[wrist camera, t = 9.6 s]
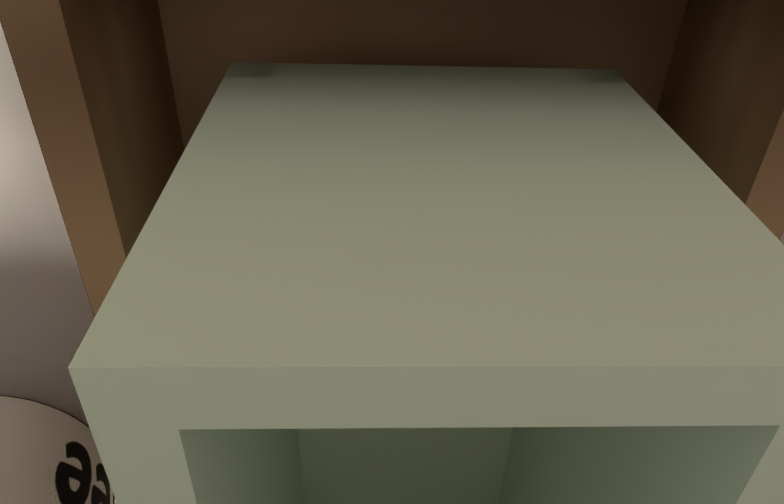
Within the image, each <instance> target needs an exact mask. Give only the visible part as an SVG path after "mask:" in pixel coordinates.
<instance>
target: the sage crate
mask: <svg viewBox="0 0 784 504" xmlns="http://www.w3.org/2000/svg"><path fill="white" fill-rule="evenodd" d="M68 370H69V373H70V375H71V378H72V381H73V384H74V386H75V389H76V392H77V395H78V397H79V400H80V403H81V406H82V408H83V411H84V414H85V417H86V419H87V422H88V425H89V428H90V430H91V433H92V436H93V439H94V441H95V444H96V447H97V450H98V452H99V455H100V458H101V461H102V463H103V466H104V469H105V472H106V474H107V477H108V480H109V482H110V485H111V488H112V491H113V493H114V496H115V499H116V502H117V504H784V244H783V243H782V242H781V241H780V240H779V239H778V238H777V237H776V236H775V235H774V234H773V233H772V232H771V231H770V230H769V229H768V228H767V227H766V226H765V225H764V224H763V223H762V222H761V221H760V220H759V219H758V217H757V216H756V215H755V214H754V213H753V212H752V211H751V210H750V209H749V208H748V207H747V206H746V205H745V204H744V203H743V202H742V201H741V200H740V199H739V198H738V197H737V196H736V195H735V194H734V193H733V192H732V191H731V190H730V189H729V187H728V186H727V185H726V184H725V183H724V182H723V181H722V180H721V179H720V178H719V177H718V176H717V175H716V174H715V173H714V172H713V171H712V170H711V169H710V168H709V167H708V166H707V165H706V164H705V163H704V162H703V161H702V160H701V159H700V157H699V156H698V155H697V154H696V153H695V152H694V151H693V150H692V149H691V148H690V147H689V146H688V145H687V144H686V143H685V142H684V141H683V140H682V139H681V138H680V137H679V136H678V135H677V134H676V133H675V132H674V131H673V130H672V129H671V127H670V126H669V125H668V124H667V123H666V122H665V121H664V120H663V119H662V118H661V117H660V116H659V115H658V114H657V113H656V112H655V111H654V110H653V109H652V108H651V107H650V106H649V105H648V104H647V103H646V102H645V101H644V100H643V99H642V97H641V96H640V95H639V94H638V93H637V92H636V91H635V90H634V89H633V88H632V87H631V86H630V85H629V84H628V83H627V82H626V81H625V80H624V79H623V78H622V77H621V76H620V75H619V74H618V73H617V72H616V71H615V70H614V69H568V68H515V67H462V66H409V65H356V64H303V63H250V62H232V63H231V65H230V67H229V68H228V70H227V72H226V74H225V76H224V78H223V80H222V82H221V83H220V85H219V87H218V89H217V91H216V93H215V95H214V96H213V98H212V100H211V102H210V104H209V106H208V108H207V109H206V111H205V113H204V115H203V117H202V119H201V121H200V122H199V124H198V126H197V128H196V130H195V132H194V134H193V135H192V137H191V139H190V141H189V143H188V145H187V147H186V148H185V150H184V152H183V154H182V156H181V158H180V160H179V162H178V163H177V165H176V167H175V169H174V171H173V173H172V175H171V176H170V178H169V180H168V182H167V184H166V186H165V188H164V189H163V191H162V193H161V195H160V197H159V199H158V201H157V202H156V204H155V206H154V208H153V210H152V212H151V214H150V215H149V217H148V219H147V221H146V223H145V225H144V227H143V228H142V230H141V232H140V234H139V236H138V238H137V240H136V241H135V243H134V245H133V247H132V249H131V251H130V253H129V255H128V256H127V258H126V260H125V262H124V264H123V266H122V268H121V269H120V271H119V273H118V275H117V277H116V279H115V281H114V282H113V284H112V286H111V288H110V290H109V292H108V294H107V295H106V297H105V299H104V301H103V303H102V305H101V307H100V308H99V310H98V312H97V314H96V316H95V318H94V320H93V321H92V323H91V325H90V327H89V329H88V331H87V333H86V335H85V336H84V338H83V340H82V342H81V344H80V346H79V348H78V349H77V351H76V353H75V355H74V357H73V359H72V361H71V362H70V364H69V366H68Z"/></svg>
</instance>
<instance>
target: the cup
mask: <svg viewBox="0 0 784 504" xmlns="http://www.w3.org/2000/svg"><path fill="white" fill-rule="evenodd" d="M0 504H115V496H114V493H113V491H112V488H111V485H110V482H109V480H108V477H107V474H106V472H105V469H104V466H103V463H102V461H101V458H100V455H99V452H98V450H97V447H96V444H95V441H94V439H93V436H92V433H91V430H90V428H88V427H87V426H86V425H84V424H83V423H81V422H80V421H78V420H77V419H75V418H73V417H71V416H70V415H68V414H66V413H64V412H61V411H59V410H57V409H54V408H52V407H49V406H46V405H44V404H40V403H37V402H33V401H29V400H25V399H20V398H14V397H5V396H0Z"/></svg>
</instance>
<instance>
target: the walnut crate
mask: <svg viewBox="0 0 784 504" xmlns="http://www.w3.org/2000/svg"><path fill="white" fill-rule="evenodd" d="M0 22H1V25H2V28H3V31H4V34H5V38H6V41H7V44H8V47H9V50H10V53H11V56H12V60H13V63H14V66H15V69H16V72H17V75H18V78H19V82H20V85H21V88H22V91H23V94H24V97H25V100H26V104H27V107H28V110H29V113H30V116H31V119H32V122H33V126H34V129H35V132H36V135H37V138H38V141H39V144H40V148H41V151H42V154H43V157H44V160H45V163H46V166H47V170H48V173H49V176H50V179H51V182H52V185H53V188H54V192H55V195H56V198H57V201H58V204H59V207H60V210H61V214H62V217H63V220H64V223H65V226H66V229H67V232H68V236H69V239H70V242H71V245H72V248H73V251H74V254H75V258H76V261H77V264H78V267H79V270H80V273H81V276H82V280H83V283H84V286H85V289H86V292H87V295H88V298H89V302H90V305H91V308H92V311H93V314H94V317H95V316H96V314H97V312H98V310H99V308H100V307H101V305H102V303H103V301H104V299H105V297H106V295H107V294H108V292H109V290H110V288H111V286H112V284H113V282H114V281H115V279H116V277H117V275H118V273H119V271H120V269H121V268H122V266H123V264H124V262H125V260H126V258H127V256H128V255H129V253H130V251H131V249H132V247H133V245H134V243H135V241H136V240H137V238H138V236H139V234H140V232H141V230H142V228H143V227H144V225H145V223H146V221H147V219H148V217H149V215H150V214H151V212H152V210H153V208H154V206H155V204H156V202H157V201H158V199H159V197H160V195H161V193H162V191H163V189H164V188H165V186H166V184H167V182H168V180H169V178H170V176H171V175H172V173H173V171H174V169H175V167H176V165H177V163H178V162H179V160H180V158H181V156H182V154H183V152H184V150H185V148H186V147H187V145H188V143H189V141H190V139H191V137H192V135H193V134H194V132H195V130H196V128H197V126H198V124H199V122H200V121H201V119H202V117H203V115H204V113H205V111H206V109H207V108H208V106H209V104H210V102H211V100H212V98H213V96H214V95H215V93H216V91H217V89H218V87H219V85H220V83H221V82H222V80H223V78H224V76H225V74H226V72H227V70H228V68H229V67H230V65H231V63H232V62H250V63H303V64H356V65H409V66H462V67H515V68H568V69H614V70H615V71H616V72H617V73H618V74H619V75H620V76H621V77H622V78H623V79H624V80H625V81H626V82H627V83H628V84H629V85H630V86H631V87H632V88H633V89H634V90H635V91H636V92H637V93H638V94H639V95H640V96H641V97H642V99H643V100H644V101H645V102H646V103H647V104H648V105H649V106H650V107H651V108H652V109H653V110H654V111H655V112H656V113H657V114H658V115H659V116H660V117H661V118H662V119H663V120H664V121H665V122H666V123H667V124H668V125H669V126H670V127H671V129H672V130H673V131H674V132H675V133H676V134H677V135H678V136H679V137H680V138H681V139H682V140H683V141H684V142H685V143H686V144H687V145H688V146H689V147H690V148H691V149H692V150H693V151H694V152H695V153H696V154H697V155H698V156H699V157H700V159H701V160H702V161H703V162H704V163H705V164H706V165H707V166H708V167H709V168H710V169H711V170H712V171H713V172H714V173H715V174H716V175H717V176H718V177H719V178H720V179H721V180H722V181H723V182H724V183H725V184H726V185H727V186H728V187H729V189H730V190H731V191H732V192H733V193H734V194H735V195H736V196H737V197H738V198H739V199H740V200H741V201H742V202H743V203H744V204H745V205H746V206H747V207H748V208H749V209H750V210H751V211H752V212H753V213H754V214H755V215H756V216H757V217H758V219H759V220H760V221H761V222H762V223H763V224H764V225H765V226H766V227H767V228H768V229H769V230H770V231H771V232H772V233H773V234H774V235H775V236H776V237H777V238H778V239H779V240H780V238H781V236H782V234H783V232H784V0H0Z"/></svg>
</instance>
